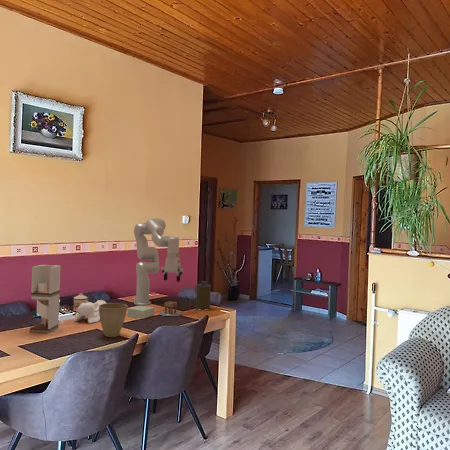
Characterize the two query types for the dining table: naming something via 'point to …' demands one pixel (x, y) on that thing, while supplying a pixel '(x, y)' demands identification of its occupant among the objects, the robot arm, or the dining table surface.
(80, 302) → the lidded ceramic jar
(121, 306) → the plant pot
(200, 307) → the canister
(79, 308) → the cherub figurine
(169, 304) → the stool
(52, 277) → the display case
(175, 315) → the trivet
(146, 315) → the block
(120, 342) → the dining table surface
